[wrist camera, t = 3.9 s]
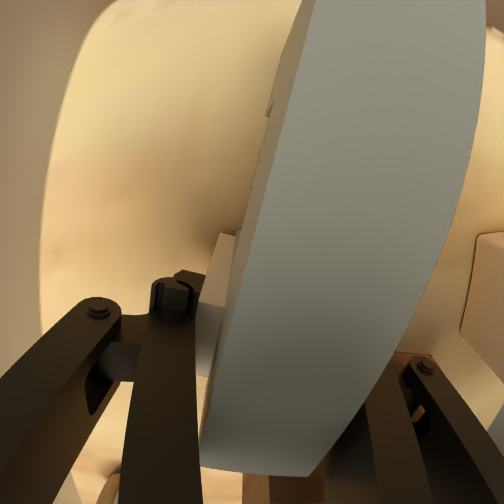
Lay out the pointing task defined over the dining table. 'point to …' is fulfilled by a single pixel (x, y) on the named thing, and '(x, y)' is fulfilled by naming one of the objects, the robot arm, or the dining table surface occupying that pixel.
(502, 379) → the medicine bottle
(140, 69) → the dining table surface
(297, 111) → the slate plate
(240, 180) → the dining table surface
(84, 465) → the dining table surface
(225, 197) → the dining table surface
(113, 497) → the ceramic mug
